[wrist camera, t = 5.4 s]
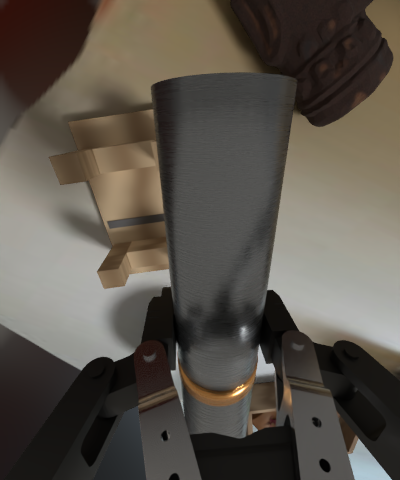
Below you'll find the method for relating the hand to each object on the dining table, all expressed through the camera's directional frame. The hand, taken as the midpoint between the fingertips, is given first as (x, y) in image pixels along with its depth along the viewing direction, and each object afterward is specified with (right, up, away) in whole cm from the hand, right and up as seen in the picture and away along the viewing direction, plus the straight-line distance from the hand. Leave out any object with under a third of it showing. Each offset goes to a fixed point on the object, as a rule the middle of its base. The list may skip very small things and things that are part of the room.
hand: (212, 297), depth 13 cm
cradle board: (-7, +8, +16) cm, 19 cm away
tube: (0, 0, 0) cm, 1 cm away
